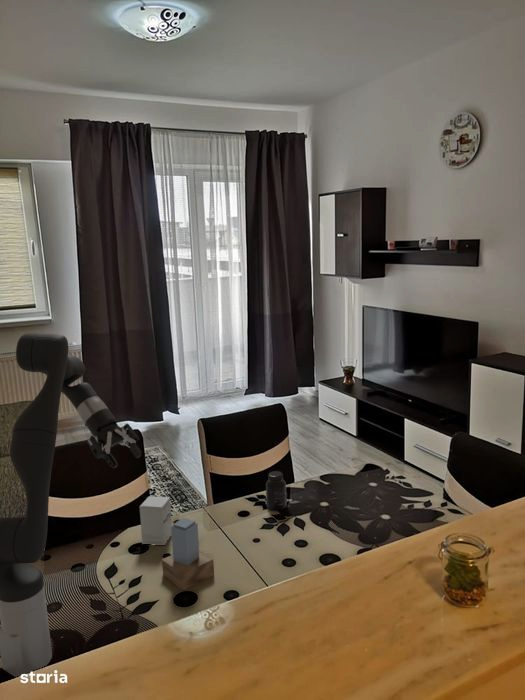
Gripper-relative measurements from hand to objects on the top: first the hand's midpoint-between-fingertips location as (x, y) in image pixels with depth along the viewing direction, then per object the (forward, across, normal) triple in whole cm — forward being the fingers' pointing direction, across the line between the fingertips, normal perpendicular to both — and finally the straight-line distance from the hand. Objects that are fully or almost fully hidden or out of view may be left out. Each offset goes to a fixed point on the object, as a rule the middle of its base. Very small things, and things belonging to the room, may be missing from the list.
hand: (128, 461), depth 155 cm
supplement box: (+19, +13, +25) cm, 34 cm away
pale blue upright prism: (+30, +3, +7) cm, 31 cm away
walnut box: (+34, +3, +10) cm, 35 cm away
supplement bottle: (+33, +50, +11) cm, 61 cm away
